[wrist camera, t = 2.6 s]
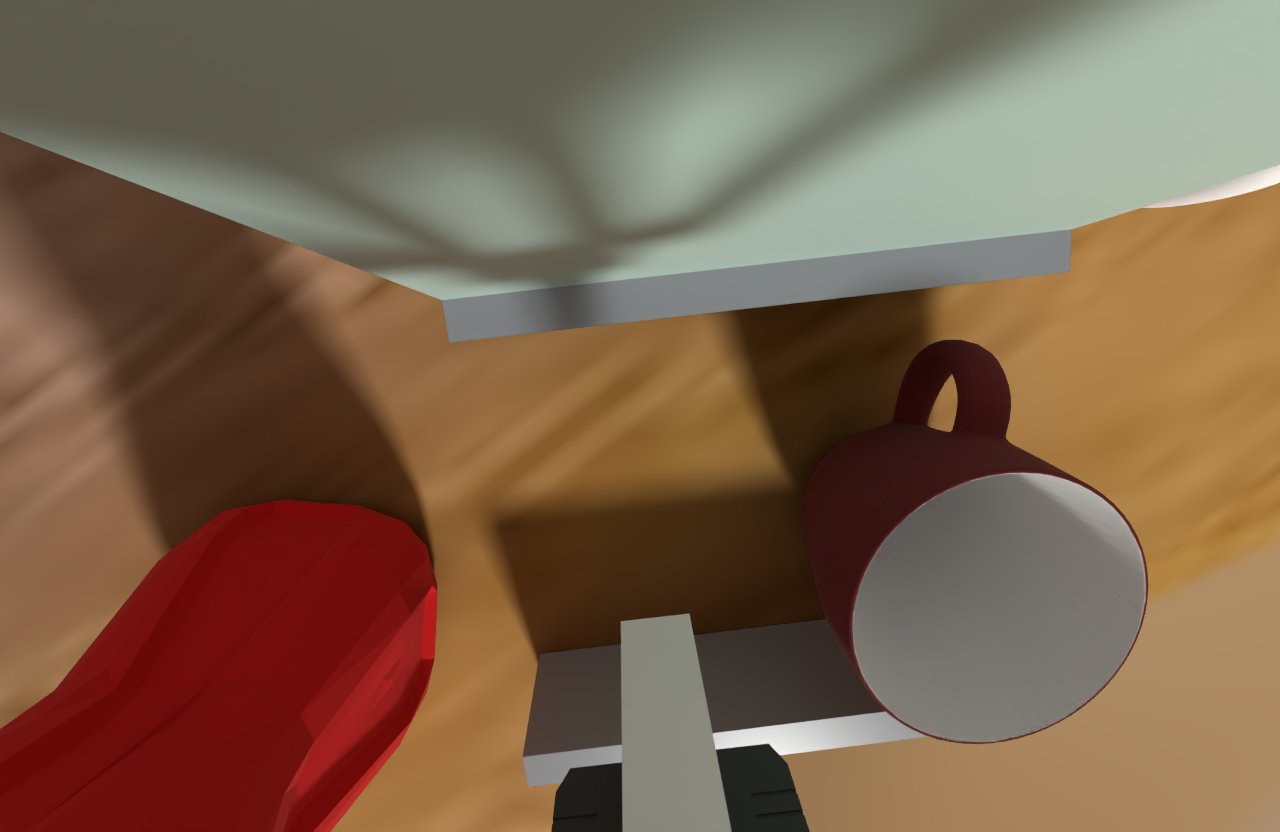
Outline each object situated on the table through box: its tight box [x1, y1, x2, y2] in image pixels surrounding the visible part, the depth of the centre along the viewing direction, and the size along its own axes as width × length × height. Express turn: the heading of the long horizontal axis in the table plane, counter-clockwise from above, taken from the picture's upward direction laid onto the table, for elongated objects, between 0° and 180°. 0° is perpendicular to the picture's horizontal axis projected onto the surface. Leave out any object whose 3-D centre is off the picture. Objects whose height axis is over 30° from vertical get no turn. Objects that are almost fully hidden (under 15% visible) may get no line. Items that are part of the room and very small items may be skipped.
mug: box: [802, 340, 1148, 744], centre depth 23 cm, size 11×8×10 cm
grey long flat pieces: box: [442, 229, 1071, 787], centre depth 24 cm, size 18×16×6 cm
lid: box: [0, 0, 1280, 300], centre depth 11 cm, size 18×16×1 cm
